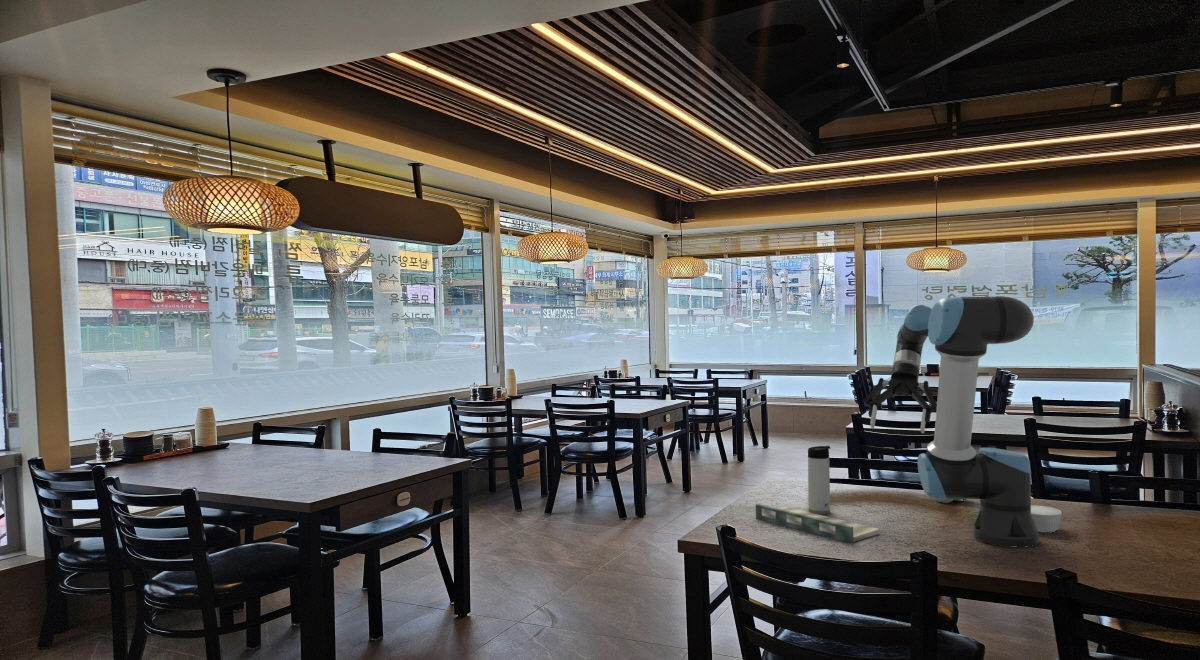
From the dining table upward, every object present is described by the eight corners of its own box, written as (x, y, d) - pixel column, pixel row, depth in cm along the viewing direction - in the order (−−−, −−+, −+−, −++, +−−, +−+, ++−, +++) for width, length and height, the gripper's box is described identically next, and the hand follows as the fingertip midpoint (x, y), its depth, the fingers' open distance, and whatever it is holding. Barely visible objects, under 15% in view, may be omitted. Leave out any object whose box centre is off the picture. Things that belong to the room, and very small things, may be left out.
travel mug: (832, 515, 218) (831, 447, 218) (809, 514, 219) (808, 447, 219) (829, 509, 224) (828, 444, 224) (807, 509, 225) (806, 444, 225)
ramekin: (1015, 521, 208) (1015, 502, 208) (1061, 526, 203) (1061, 507, 203) (1014, 531, 199) (1014, 511, 199) (1063, 536, 193) (1062, 516, 193)
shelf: (879, 533, 199) (879, 518, 199) (850, 542, 191) (850, 527, 191) (784, 510, 224) (784, 497, 224) (755, 518, 216) (755, 504, 216)
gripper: (952, 378, 219) (945, 439, 208) (864, 373, 232) (854, 430, 221) (950, 363, 214) (943, 425, 203) (861, 359, 227) (850, 417, 216)
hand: (896, 428), depth 212 cm, fingers open, 13 cm apart
